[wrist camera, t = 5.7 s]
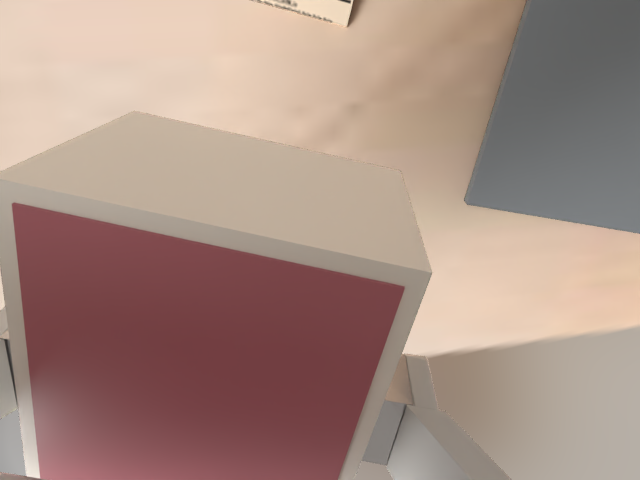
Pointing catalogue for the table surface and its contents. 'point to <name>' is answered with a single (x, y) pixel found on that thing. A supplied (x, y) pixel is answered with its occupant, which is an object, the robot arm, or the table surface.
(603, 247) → the table surface
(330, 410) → the card box
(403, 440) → the robot arm
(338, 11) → the newspaper
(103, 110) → the table surface
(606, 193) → the mat
